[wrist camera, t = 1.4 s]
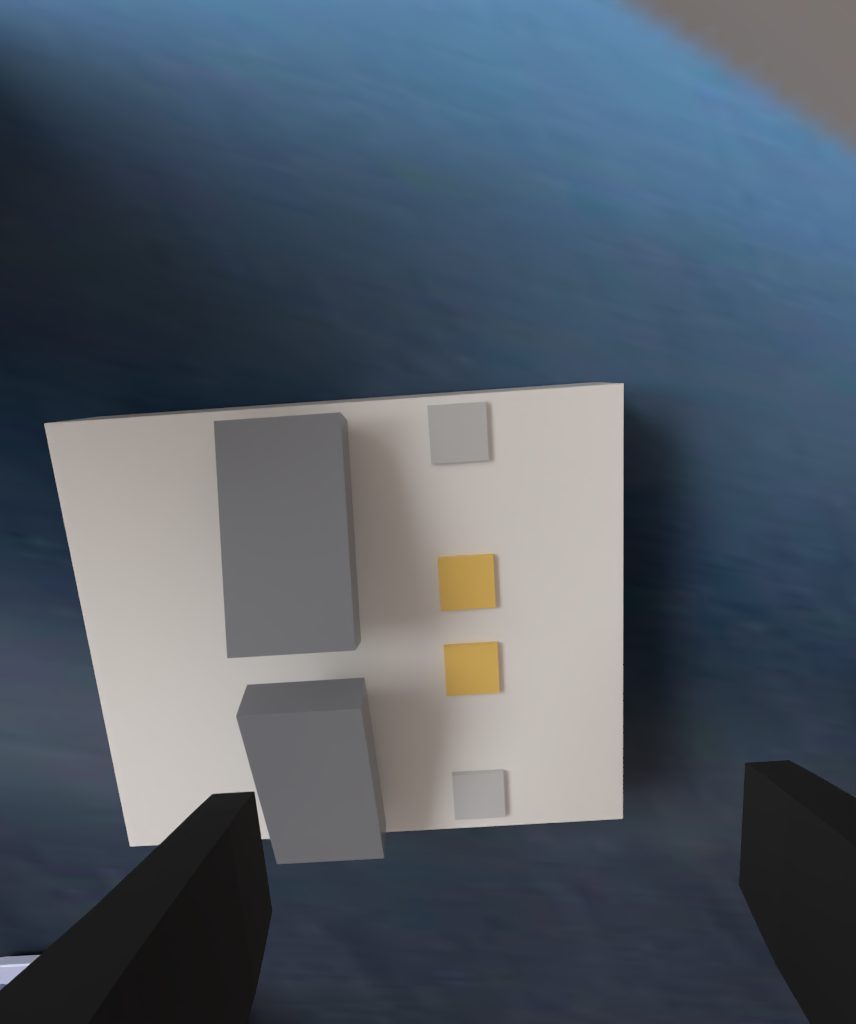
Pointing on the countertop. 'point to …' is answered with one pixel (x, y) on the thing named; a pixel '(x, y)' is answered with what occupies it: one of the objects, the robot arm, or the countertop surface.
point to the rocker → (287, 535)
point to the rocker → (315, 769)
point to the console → (374, 603)
